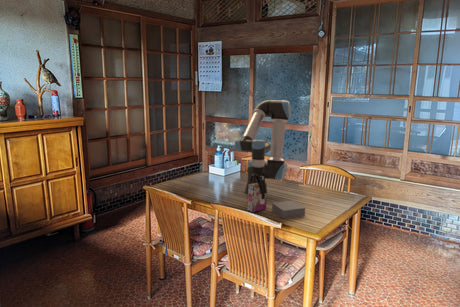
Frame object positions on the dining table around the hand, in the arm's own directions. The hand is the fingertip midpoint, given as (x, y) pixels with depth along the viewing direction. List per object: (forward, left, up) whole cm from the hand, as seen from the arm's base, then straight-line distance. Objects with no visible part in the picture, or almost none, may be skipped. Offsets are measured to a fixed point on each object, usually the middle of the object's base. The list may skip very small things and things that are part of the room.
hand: (257, 200), depth 210 cm
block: (+11, +15, -6) cm, 20 cm away
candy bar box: (0, 0, -6) cm, 6 cm away
